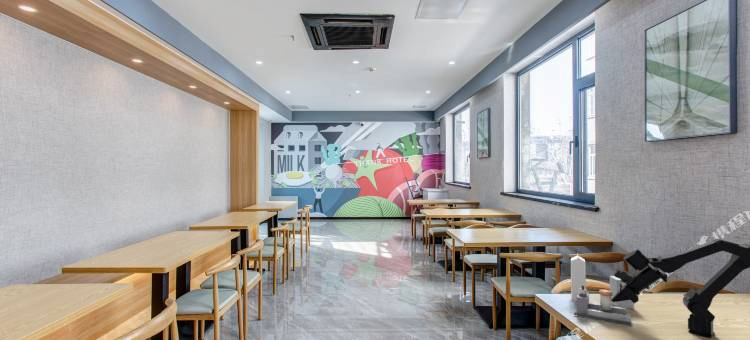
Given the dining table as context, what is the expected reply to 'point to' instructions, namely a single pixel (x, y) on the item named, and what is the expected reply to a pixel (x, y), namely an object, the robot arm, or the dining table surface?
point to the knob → (605, 300)
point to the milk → (577, 275)
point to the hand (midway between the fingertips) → (612, 301)
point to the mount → (600, 312)
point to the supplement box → (615, 288)
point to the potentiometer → (582, 291)
